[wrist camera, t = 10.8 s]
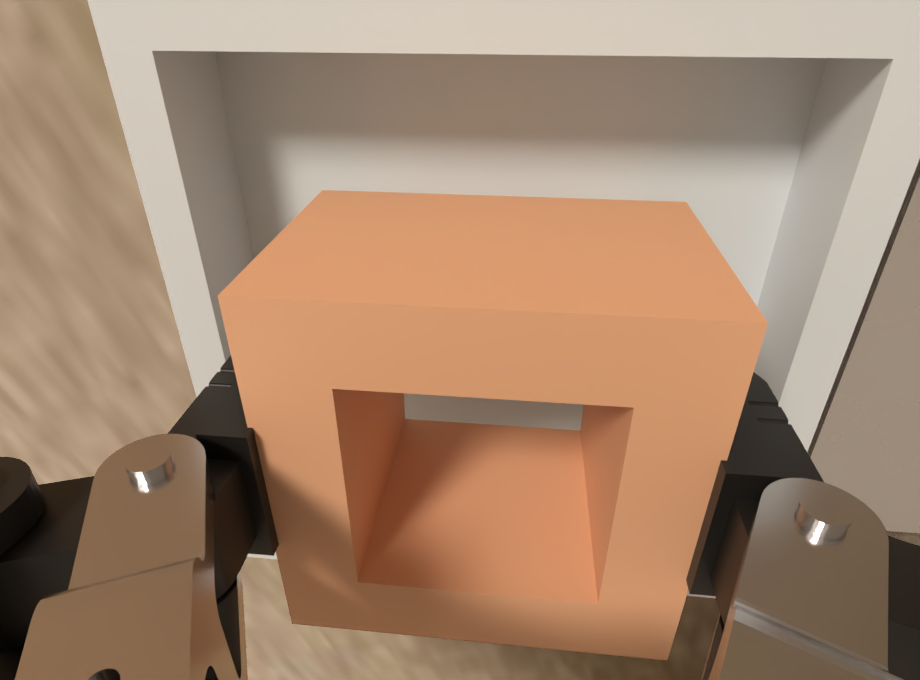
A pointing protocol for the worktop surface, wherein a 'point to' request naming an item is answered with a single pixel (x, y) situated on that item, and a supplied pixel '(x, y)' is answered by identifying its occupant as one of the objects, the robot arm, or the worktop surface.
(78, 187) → the worktop surface
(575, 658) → the worktop surface
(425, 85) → the tray
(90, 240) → the worktop surface
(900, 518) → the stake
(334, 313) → the ring
